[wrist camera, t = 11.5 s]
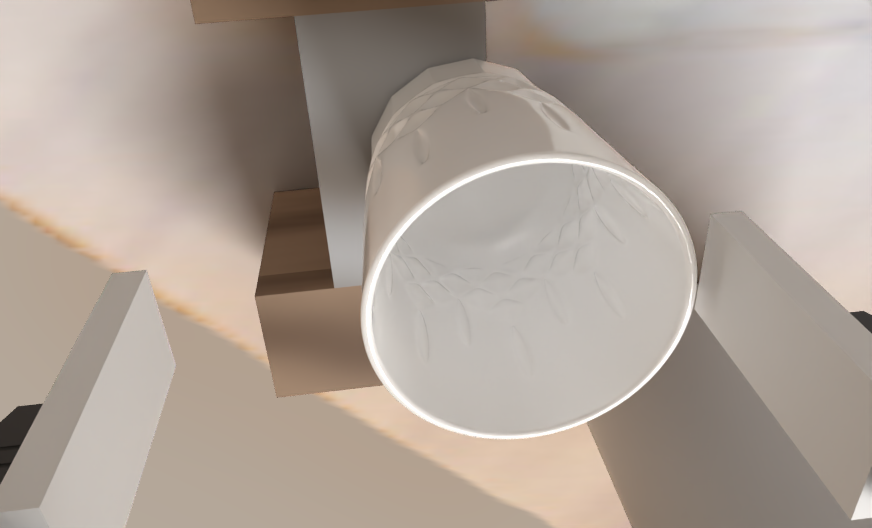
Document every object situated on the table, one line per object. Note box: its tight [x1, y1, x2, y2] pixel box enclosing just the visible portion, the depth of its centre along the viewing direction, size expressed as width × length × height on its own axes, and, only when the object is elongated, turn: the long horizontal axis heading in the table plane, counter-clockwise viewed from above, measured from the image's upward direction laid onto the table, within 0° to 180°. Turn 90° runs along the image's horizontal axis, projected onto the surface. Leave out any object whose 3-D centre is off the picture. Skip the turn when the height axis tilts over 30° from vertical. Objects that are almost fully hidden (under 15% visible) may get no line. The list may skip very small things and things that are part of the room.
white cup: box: [360, 58, 697, 439], centre depth 21 cm, size 8×8×10 cm
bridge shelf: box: [190, 0, 495, 398], centre depth 29 cm, size 20×12×10 cm, turn 3°
